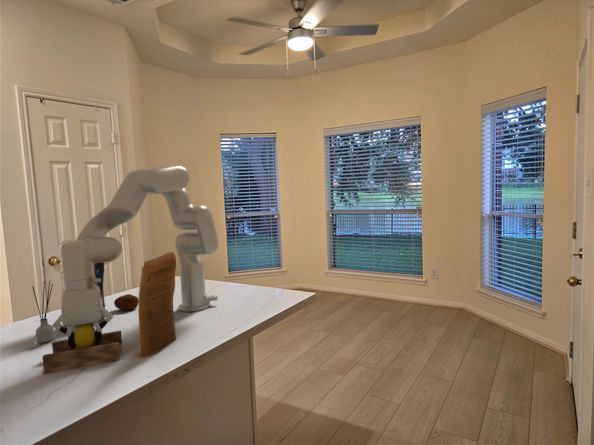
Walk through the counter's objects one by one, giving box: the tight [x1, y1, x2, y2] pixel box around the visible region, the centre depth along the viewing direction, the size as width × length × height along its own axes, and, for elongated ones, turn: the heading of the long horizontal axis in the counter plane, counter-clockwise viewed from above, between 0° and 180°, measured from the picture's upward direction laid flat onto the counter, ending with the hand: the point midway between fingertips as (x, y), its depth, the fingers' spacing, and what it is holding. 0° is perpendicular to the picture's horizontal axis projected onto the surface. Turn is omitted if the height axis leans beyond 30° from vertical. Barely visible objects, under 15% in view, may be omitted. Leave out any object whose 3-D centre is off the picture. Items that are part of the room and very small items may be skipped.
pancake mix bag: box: [137, 251, 177, 358], centre depth 110 cm, size 7×19×28 cm, turn 165°
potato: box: [113, 293, 139, 311], centre depth 150 cm, size 7×9×6 cm
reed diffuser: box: [29, 280, 55, 349], centre depth 117 cm, size 10×7×20 cm
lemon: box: [73, 324, 96, 348], centre depth 104 cm, size 6×6×8 cm
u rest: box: [41, 330, 123, 375], centre depth 104 cm, size 18×12×5 cm, turn 112°
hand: (86, 345), depth 104 cm, fingers closed on lemon, 5 cm apart
